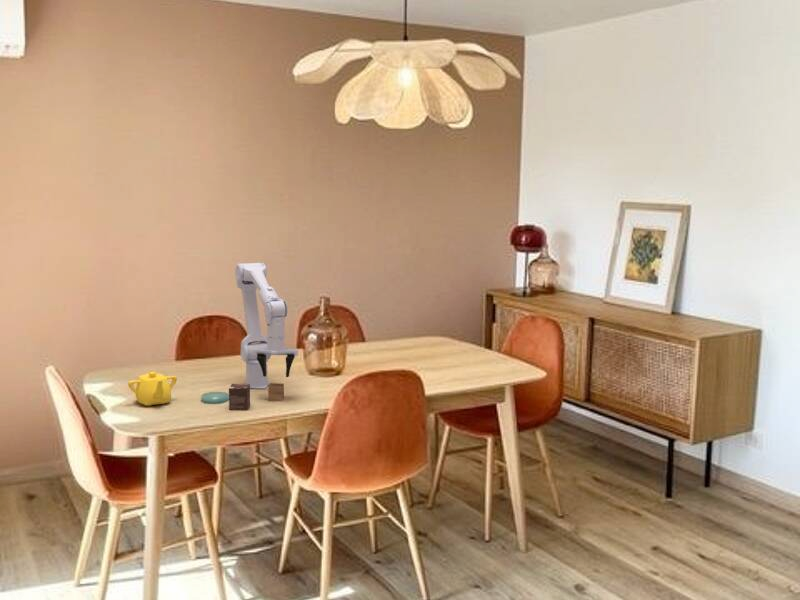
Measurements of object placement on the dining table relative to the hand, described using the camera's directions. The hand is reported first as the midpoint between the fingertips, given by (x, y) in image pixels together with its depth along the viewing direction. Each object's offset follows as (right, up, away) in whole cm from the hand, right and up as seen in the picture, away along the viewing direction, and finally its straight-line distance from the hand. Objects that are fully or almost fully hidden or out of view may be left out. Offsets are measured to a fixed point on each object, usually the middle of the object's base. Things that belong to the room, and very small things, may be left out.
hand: (276, 376), depth 275 cm
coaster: (-20, -8, -1) cm, 22 cm away
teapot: (-39, -9, -6) cm, 41 cm away
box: (-10, -10, -9) cm, 17 cm away
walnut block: (0, -8, +1) cm, 8 cm away
